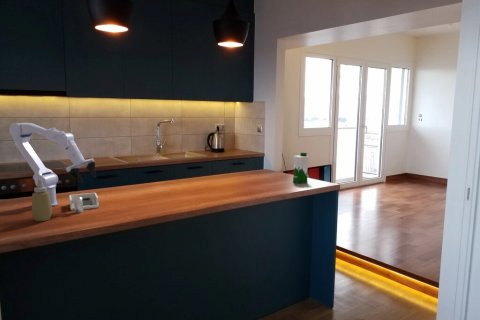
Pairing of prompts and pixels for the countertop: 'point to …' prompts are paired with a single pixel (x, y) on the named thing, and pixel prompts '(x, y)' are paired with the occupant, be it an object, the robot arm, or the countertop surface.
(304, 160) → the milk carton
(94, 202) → the walled box
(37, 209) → the squeeze bottle
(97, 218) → the countertop surface
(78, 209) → the steel plug
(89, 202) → the inlet socket
